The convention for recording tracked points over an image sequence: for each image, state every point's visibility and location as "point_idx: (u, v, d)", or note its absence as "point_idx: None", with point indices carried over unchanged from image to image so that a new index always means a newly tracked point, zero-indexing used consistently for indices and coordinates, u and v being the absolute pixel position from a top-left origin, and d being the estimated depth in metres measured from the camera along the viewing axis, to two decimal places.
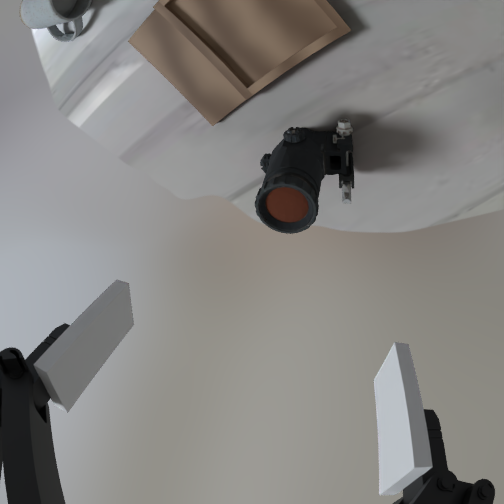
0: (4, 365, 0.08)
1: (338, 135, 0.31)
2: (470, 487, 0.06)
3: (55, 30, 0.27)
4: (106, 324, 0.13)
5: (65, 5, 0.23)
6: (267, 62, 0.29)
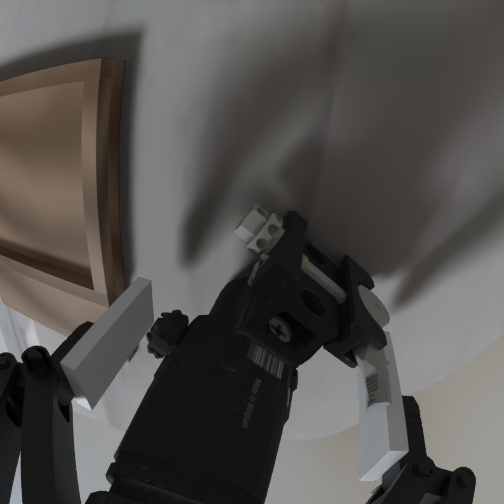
0: (29, 363, 0.09)
1: None
2: (449, 476, 0.07)
3: None
4: (130, 321, 0.13)
5: None
6: (85, 228, 0.16)
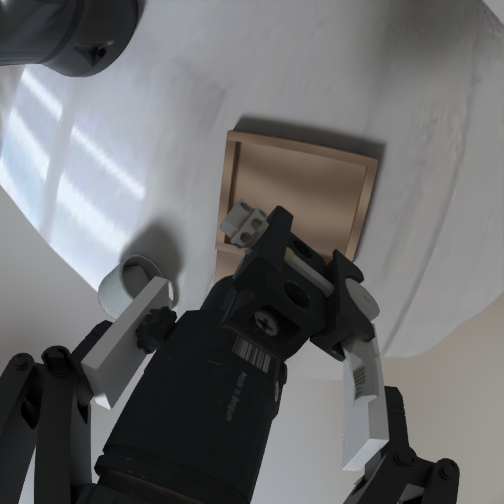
0: (49, 362, 0.09)
1: None
2: (431, 468, 0.07)
3: None
4: None
5: None
6: (340, 236, 0.34)
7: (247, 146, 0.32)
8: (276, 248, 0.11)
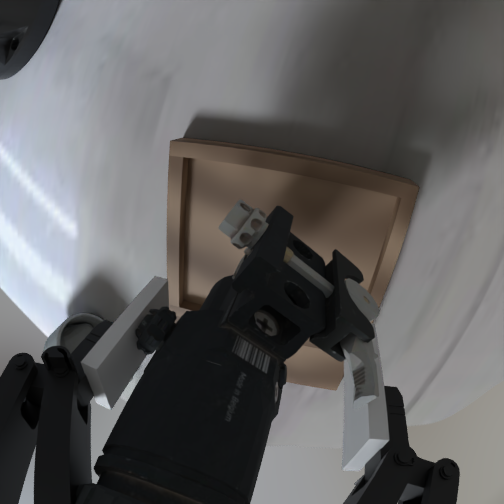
0: (49, 362, 0.09)
1: None
2: (431, 468, 0.07)
3: None
4: None
5: None
6: None
7: (203, 164, 0.20)
8: (276, 248, 0.11)
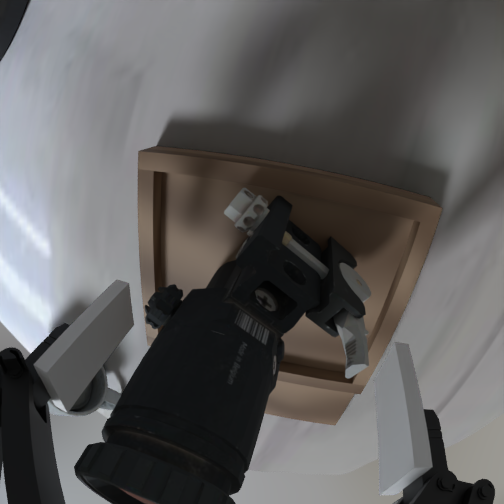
0: (4, 365, 0.08)
1: None
2: (470, 487, 0.06)
3: None
4: (106, 324, 0.13)
5: None
6: None
7: (179, 178, 0.17)
8: (276, 230, 0.12)
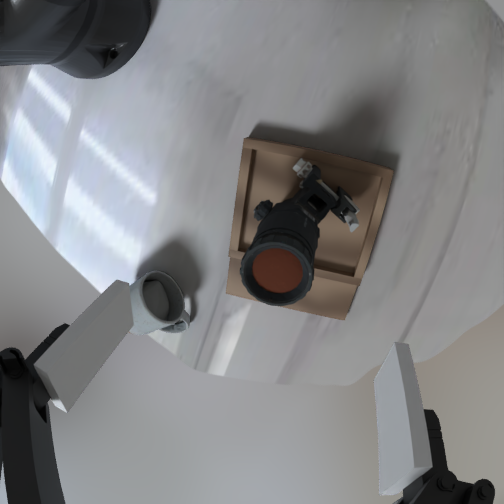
0: (4, 365, 0.08)
1: None
2: (470, 487, 0.06)
3: None
4: (106, 324, 0.13)
5: (163, 307, 0.41)
6: (353, 245, 0.34)
7: (263, 154, 0.32)
8: (317, 174, 0.28)
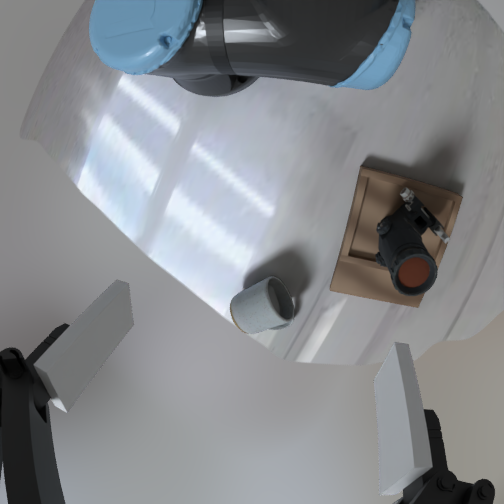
0: (4, 365, 0.08)
1: (408, 203, 0.37)
2: (470, 487, 0.06)
3: None
4: (106, 324, 0.13)
5: (278, 307, 0.48)
6: (430, 250, 0.42)
7: (373, 181, 0.40)
8: None
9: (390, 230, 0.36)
